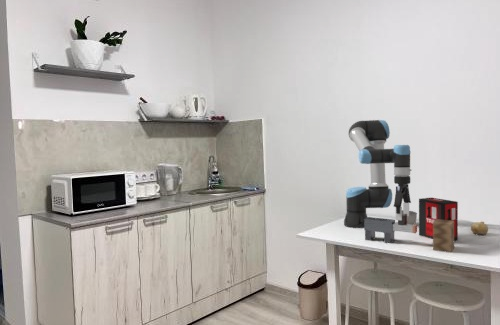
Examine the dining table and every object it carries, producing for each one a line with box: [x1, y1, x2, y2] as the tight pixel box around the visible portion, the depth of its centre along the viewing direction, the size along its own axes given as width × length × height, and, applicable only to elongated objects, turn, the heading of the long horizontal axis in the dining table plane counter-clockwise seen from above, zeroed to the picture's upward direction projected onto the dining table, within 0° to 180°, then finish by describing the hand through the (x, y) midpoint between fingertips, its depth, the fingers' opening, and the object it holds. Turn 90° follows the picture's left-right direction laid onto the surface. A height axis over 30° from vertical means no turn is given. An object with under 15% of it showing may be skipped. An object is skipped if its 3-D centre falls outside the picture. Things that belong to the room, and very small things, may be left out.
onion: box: [470, 221, 489, 236], centre depth 203 cm, size 8×8×7 cm
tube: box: [392, 213, 418, 234], centre depth 192 cm, size 21×5×8 cm, turn 53°
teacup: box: [402, 209, 418, 225], centre depth 229 cm, size 14×11×8 cm
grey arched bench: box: [363, 216, 396, 244], centre depth 197 cm, size 14×7×11 cm, turn 53°
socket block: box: [432, 219, 455, 253], centre depth 178 cm, size 8×9×13 cm
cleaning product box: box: [418, 197, 459, 242], centre depth 198 cm, size 16×9×20 cm, turn 21°
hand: (402, 217), depth 189 cm, fingers open, 13 cm apart
